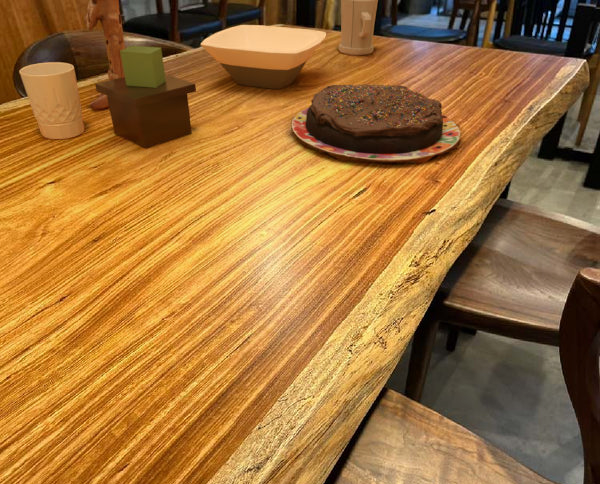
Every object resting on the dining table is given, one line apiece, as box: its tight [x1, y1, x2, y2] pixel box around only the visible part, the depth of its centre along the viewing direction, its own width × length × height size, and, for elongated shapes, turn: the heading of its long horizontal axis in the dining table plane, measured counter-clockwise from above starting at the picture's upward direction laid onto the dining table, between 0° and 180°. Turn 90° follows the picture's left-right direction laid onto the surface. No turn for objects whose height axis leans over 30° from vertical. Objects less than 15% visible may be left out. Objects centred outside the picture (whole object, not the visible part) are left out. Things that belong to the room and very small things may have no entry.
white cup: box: [18, 61, 85, 140], centre depth 85 cm, size 8×8×10 cm
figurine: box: [83, 0, 126, 110], centre depth 95 cm, size 11×8×20 cm
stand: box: [94, 73, 197, 149], centre depth 86 cm, size 11×11×8 cm
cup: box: [338, 0, 379, 56], centre depth 131 cm, size 10×9×12 cm
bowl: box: [199, 24, 327, 90], centre depth 111 cm, size 22×23×8 cm
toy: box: [120, 45, 166, 88], centre depth 82 cm, size 5×4×5 cm
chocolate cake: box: [290, 84, 462, 164], centre depth 88 cm, size 28×28×7 cm
